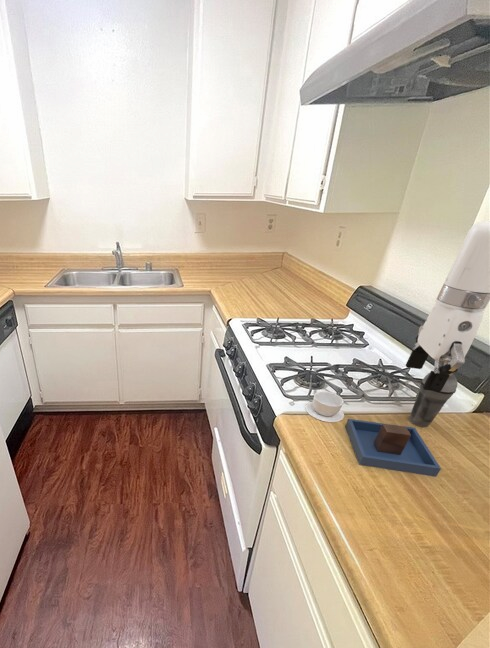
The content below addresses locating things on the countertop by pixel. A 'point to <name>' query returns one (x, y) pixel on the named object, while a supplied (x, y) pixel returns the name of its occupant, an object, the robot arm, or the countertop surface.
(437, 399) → the beverage cup
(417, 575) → the countertop surface
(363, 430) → the tray
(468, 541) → the countertop surface
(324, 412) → the teacup
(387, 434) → the block
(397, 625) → the countertop surface
